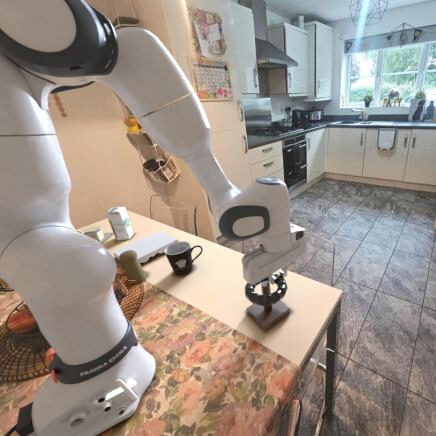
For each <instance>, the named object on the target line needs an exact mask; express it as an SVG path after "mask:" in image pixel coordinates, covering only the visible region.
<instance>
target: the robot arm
mask: <svg viewBox="0 0 436 436" xmlns="http://www.w3.org/2000/svg"><path fill="white" fill-rule="evenodd" d="M95 82H96V83H100V84H102V85H104V86H106V87H108V88H109V89H110V90H112V91H113V92H114V93H115V94H116V95H117V96H118V97H119V98H120V99H121V100H122V102H123V103H124V104H125V105H126V107H127V108H128V110H129V111H130V113H131V114H132V116H133V117H134V118H135V119H136V121H137V122H138V124H139V125H140V127H141V128H142V129H143V130H144V133H146V134H147V136H148V137H150V139H151V140H152V141H153V142H154V143H155V144H156V145H157V146H158V147H159V148H160V149H161V150H162V151H163V152H164V153H165V154H167V155H169V156H172V157H174V158H176V159H178V160H179V161H181V162H182V163H183V164H184V165H186V166H187V167H188V169H189V170H190V171H191V173H192V174H193V176H194V177H195V178H196V180H197V181H198V183H199V184H200V186H201V187H202V189H203V190H204V192H205V194H206V197H207V204H208V205H207V206H208V209H209V211H210V213H211V215H212V216H213V218H214V221H215V224H216V226H217V228H218V230H219V232H220V234H221V235H222V237H224V238H225V240H227V241H230V242H235V243H238V242H239V243H240V242H244V241H247V240H251V239H253V238H256V237H257V243H258V245H257V246H255V247H253V248H252V249H249V250H247V251H245V253H244V255H243V256H242V257H241V265H242V277H243V278H242V279H244V281H245V282H246V283H249V284H251V285H255V284H256V283H258V282H260V281H261V280H263V279H265V278H266V277H268V278H269V283H270V285H272V286H274V285H276V284H275V283H276V282H277V278H276V277H274V276H273V273H276V272H279V273H278V274H279V275H280V276H281V277H283V278H284V279H285V278H286V277H288V271H289V268H290V266H291V264H292V263H293V262H295V261H296V260H298V259H300V258H301V257H303V256H304V255H305V254H306V252H307V249H308V246H307V243H308V242H307V236H306V233H307V231H306V229H305V228H303V227H301V226H299V225H297V224H295V223H292V222H291V221H290V216H291V202H290V201H291V200H290V194H289V189H288V186H287V183H285V182H284V181H282V180H281V179H279V178H277V177H273V176H259V177H257V178H254V180H253V182H252V183H251V184H250V185H249V186H248V187H247V188H246V189H245V190H242V189H241V188H239V187H238V186H236V185H235V184H234V183H232V182H231V181H230V180H229V179H228V177H227V176H226V174H225V172H224V170H223V168H222V167H221V165H220V163H219V162H218V160H217V159H216V156H215V154H214V151H213V149H212V145H211V138H212V129H211V126H210V122H209V120H208V116H207V113H206V111H205V109H204V107H203V105H202V102H201V100H200V98H199V97H198V95H197V93H196V92H195V89H194V87H193V86H192V85H191V82H190V81H189V79H188V77H187V76H186V74H185V73H184V71H183V70H182V69H181V67H180V65H179V64H178V62H177V61H176V60H175V58H174V57H173V55H172V54H171V53H170V51H169V50H168V49H167V47H166V46H165V45H164V43H163V42H162V41H161V40H160V39H159V37H158V36H157V35H155V34H154V33H152V32H151V30H148V29H146V28H142V27H138V26H126V27H121V28H118V29H115V27H114V26H113V23H112V22H111V20H110V19H109V18H108V17H107V16H106V15H105V14H103V13H102V12H101V11H99V10H98V9H96V8H95V7H94V6H93V5H91V4H90V3H89V2H87V1H86V0H0V279H1V280H3V281H4V282H5V283H6V284H7V285H8V286H9V287H11V288H12V290H13V291H14V292H16V294H17V295H18V296H19V297H20V298H21V299H22V300H23V302H24V303H25V305H26V306H27V308H28V310H29V311H30V313H31V315H32V317H33V318H34V320H35V321H36V323H37V325H38V327H39V328H38V329H39V331H40V333H41V335H42V336H43V337H44V339H45V340H46V341H47V343H48V344H49V346H50V348H49V349H48V350H47V351H46V353H45V361H46V362H47V363H48V371H49V373H50V375H49V376H48V377H47V378H46V379H45V380H44V382H43V383H42V384H40V386H39V387H38V388H37V390H36V392H35V394H34V397H33V401H31V402H30V403H28V404H26V405H24V406H22V407H20V408H19V409H18V415H17V421H16V423H15V425H14V426H13V427H12V428H10V429H9V430H8V431H7V432H6V434H4V436H11V435H12V434H13V433H14V432H16V433H17V434H18V436H97V435H99V434H101V433H103V432H105V431H107V430H109V429H110V428H112V427H114V426H116V425H117V424H119V423H121V422H123V421H124V420H127V419H128V418H130V417H132V415H134V414H135V412H136V410H137V409H138V406H139V404H140V400H141V398H142V396H143V395H144V393H145V391H147V389H148V388H149V386H150V384H151V382H152V381H153V378H154V376H155V374H156V367H157V363H156V359H155V357H154V356H153V355H152V354H151V353H150V352H148V351H147V350H146V349H145V348H144V347H143V346H142V345H141V343H140V342H139V337H138V335H137V332H136V330H135V328H134V325H133V323H131V321H130V320H129V318H127V317H125V315H124V312H123V310H122V308H121V306H120V303H119V302H118V299H117V298H116V294H115V290H114V282H115V280H116V278H117V277H116V276H117V273H118V266H117V261H116V258H115V256H114V255H112V254H111V253H110V251H109V250H108V249H107V248H106V247H105V246H104V245H103V244H102V243H99V242H98V241H97V240H95V239H93V238H91V237H89V236H86V235H84V233H83V232H79V231H77V229H76V228H75V226H74V225H73V222H72V220H71V217H70V206H69V205H70V204H69V201H70V199H69V197H70V193H71V190H72V181H71V177H70V173H69V170H68V168H67V165H66V161H65V158H64V155H63V151H62V148H61V144H60V141H59V138H58V135H57V132H56V129H55V126H54V123H53V120H52V117H51V116H52V115H51V112H50V108H49V96H50V94H57V93H62V92H67V91H72V90H79V89H82V88H85V87H88V86H91V85H93V84H94V83H95Z"/></svg>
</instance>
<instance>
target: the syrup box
mask: <svg viewBox="0 0 436 436" xmlns="http://www.w3.org/2000/svg"><path fill="white" fill-rule="evenodd" d="M105 215H106V217H107V220H108V223H109V224H110V228H111V231H112V234H113V236H114V237H115V240H116V241H126V240H130V239H131V238H132V237H133V235H135V232H134V229H133V226H132V223H131V220H130V217H129V214H128V212H127V209H126V206H114V207H110V209H108V211H106V212H105Z"/></svg>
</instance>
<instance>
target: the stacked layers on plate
mask: <svg viewBox="0 0 436 436" xmlns="http://www.w3.org/2000/svg"><path fill="white" fill-rule="evenodd" d="M81 233H83V234H84V235H86V236H89V237H91V238H93V239H95V240H97V241H98V242H99V243H100V244H102V243H103V242H104V241H105V240H107V239H108V238H109V237H110V236H112V233H104V232H103V229H102V228H101V226H96V225H91V226H86V227H85V228H83V230H82V231H81Z"/></svg>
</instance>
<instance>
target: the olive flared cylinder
mask: <svg viewBox="0 0 436 436" xmlns="http://www.w3.org/2000/svg"><path fill="white" fill-rule="evenodd" d="M119 260H120V261H119ZM119 260H118V261H119V262H120V263H121V264H123V265H122V266H123V269H124V274H125V278H126V282H127V284H130V285H134V284H138V283H141V282H142V281H144V280H145V279H146V278H147V273H146V272H145V270H144V268H143V266H142V265H141V263H139V262H138V260H137V253H136V252H135V251H133V250H128V251H125V252H123V253H121V254H120V256H119ZM127 279H128V280H136V281H128V280H127Z"/></svg>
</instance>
